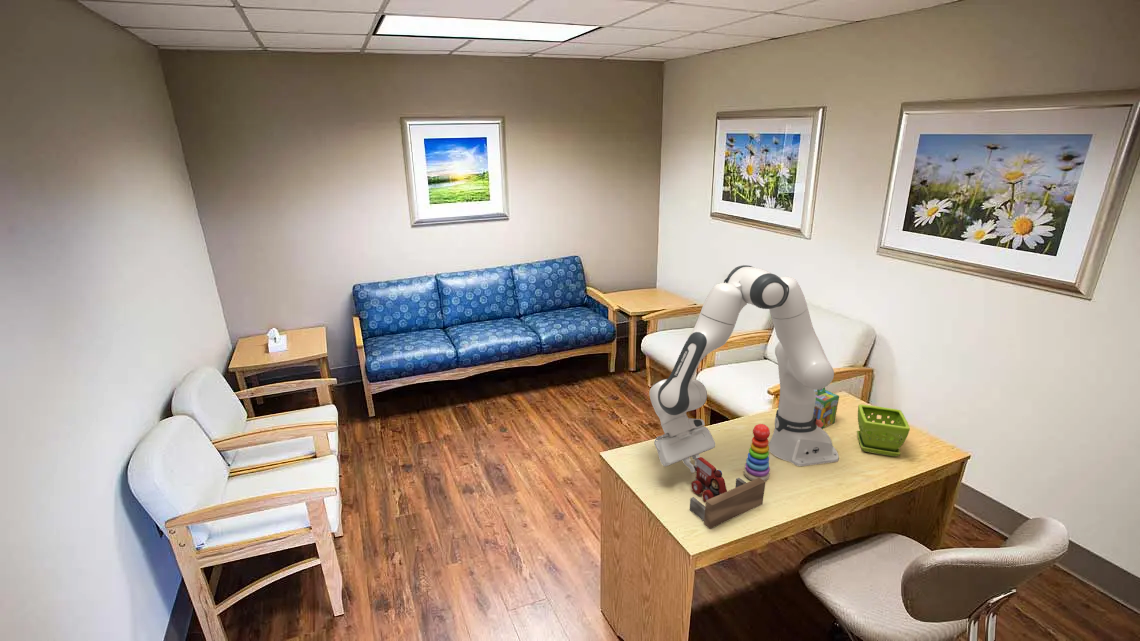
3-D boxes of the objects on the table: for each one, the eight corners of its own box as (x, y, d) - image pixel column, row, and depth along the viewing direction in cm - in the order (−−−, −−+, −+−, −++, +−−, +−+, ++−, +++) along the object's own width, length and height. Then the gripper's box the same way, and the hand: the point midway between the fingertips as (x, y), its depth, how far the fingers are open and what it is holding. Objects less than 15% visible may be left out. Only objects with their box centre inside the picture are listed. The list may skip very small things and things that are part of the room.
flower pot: (903, 461, 184) (911, 428, 179) (857, 454, 188) (863, 421, 184) (894, 440, 196) (901, 408, 192) (851, 433, 200) (857, 402, 196)
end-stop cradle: (687, 510, 162) (689, 487, 159) (739, 487, 172) (741, 465, 169) (709, 529, 154) (712, 505, 151) (762, 504, 164) (765, 481, 161)
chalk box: (821, 429, 203) (827, 394, 198) (799, 419, 210) (804, 384, 205) (835, 422, 208) (842, 387, 203) (814, 412, 215) (819, 378, 210)
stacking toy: (740, 468, 181) (746, 417, 175) (764, 468, 181) (771, 418, 175) (746, 482, 174) (753, 431, 167) (772, 483, 174) (779, 431, 167)
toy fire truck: (714, 510, 161) (717, 481, 158) (687, 487, 172) (689, 459, 168) (732, 503, 164) (735, 474, 161) (704, 480, 175) (706, 452, 171)
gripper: (657, 435, 169) (676, 479, 164) (707, 418, 178) (726, 459, 174) (647, 441, 174) (665, 483, 169) (696, 424, 184) (715, 464, 179)
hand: (696, 471), depth 172 cm, fingers closed
